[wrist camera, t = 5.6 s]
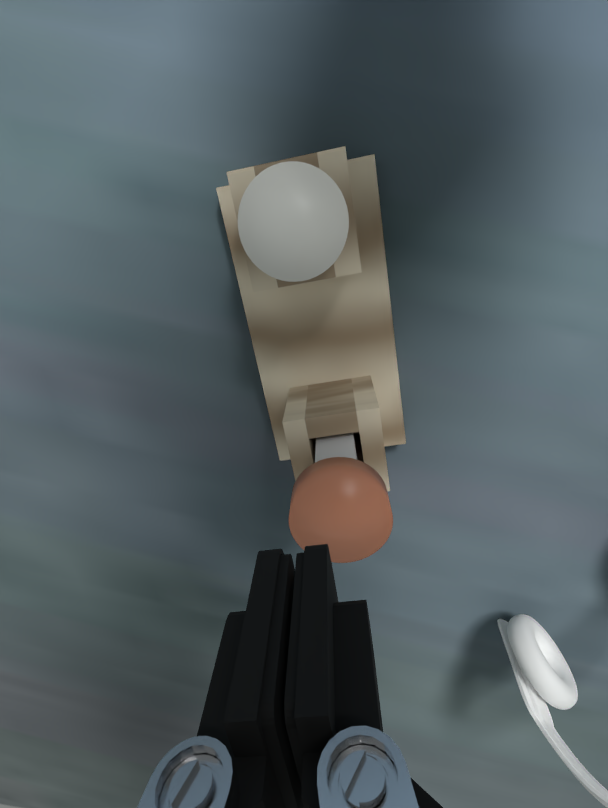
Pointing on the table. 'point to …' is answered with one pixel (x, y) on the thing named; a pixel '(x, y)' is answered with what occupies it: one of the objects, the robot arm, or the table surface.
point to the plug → (293, 221)
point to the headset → (545, 687)
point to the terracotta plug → (340, 503)
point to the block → (325, 327)
